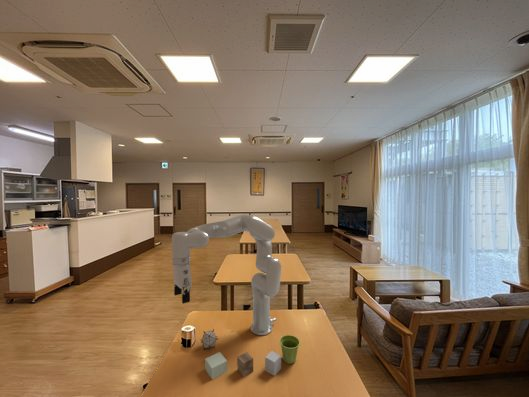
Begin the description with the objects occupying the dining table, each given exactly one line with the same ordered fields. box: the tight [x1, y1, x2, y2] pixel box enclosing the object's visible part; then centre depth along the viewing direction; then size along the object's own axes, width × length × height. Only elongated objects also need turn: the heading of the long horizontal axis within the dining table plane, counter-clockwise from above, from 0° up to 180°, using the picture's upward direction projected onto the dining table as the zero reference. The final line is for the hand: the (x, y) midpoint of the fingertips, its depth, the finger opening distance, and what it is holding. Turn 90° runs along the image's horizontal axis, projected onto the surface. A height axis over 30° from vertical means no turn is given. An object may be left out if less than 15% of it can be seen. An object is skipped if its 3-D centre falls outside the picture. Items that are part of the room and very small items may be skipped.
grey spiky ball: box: [200, 329, 219, 351], centre depth 116 cm, size 9×8×10 cm
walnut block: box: [236, 351, 254, 378], centre depth 101 cm, size 5×5×6 cm
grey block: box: [264, 350, 282, 376], centre depth 102 cm, size 5×5×6 cm
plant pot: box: [279, 334, 301, 365], centre depth 108 cm, size 9×9×9 cm
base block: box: [204, 351, 228, 380], centre depth 101 cm, size 7×7×5 cm
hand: (181, 298), depth 103 cm, fingers open, 9 cm apart
